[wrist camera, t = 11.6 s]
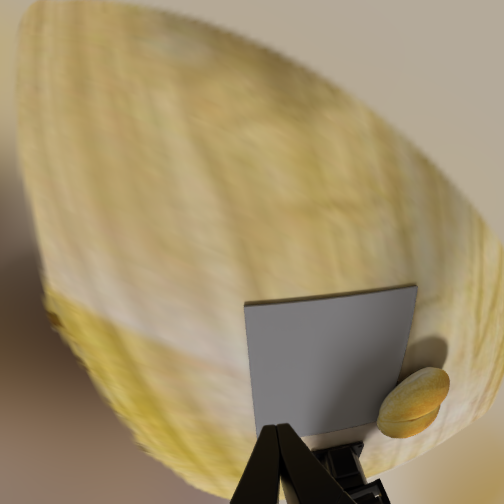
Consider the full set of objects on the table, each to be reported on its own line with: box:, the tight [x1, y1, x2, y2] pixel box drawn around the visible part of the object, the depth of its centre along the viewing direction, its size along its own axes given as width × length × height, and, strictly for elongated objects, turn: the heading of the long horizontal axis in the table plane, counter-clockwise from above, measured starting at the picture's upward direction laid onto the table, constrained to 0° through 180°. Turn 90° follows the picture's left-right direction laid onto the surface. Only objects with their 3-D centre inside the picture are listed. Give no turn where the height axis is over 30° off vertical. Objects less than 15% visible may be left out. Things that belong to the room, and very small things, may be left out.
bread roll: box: [377, 367, 450, 438], centre depth 21 cm, size 8×9×4 cm
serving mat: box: [244, 286, 418, 439], centre depth 22 cm, size 16×14×1 cm
